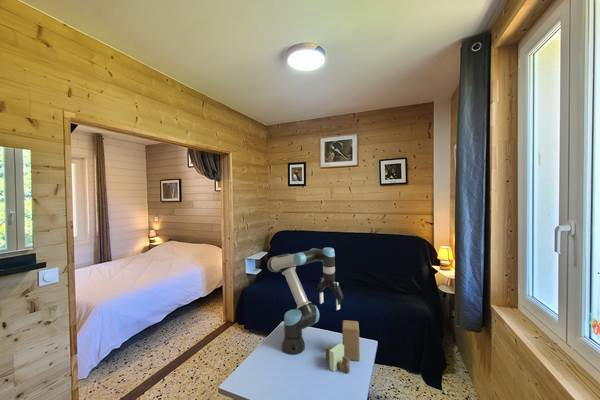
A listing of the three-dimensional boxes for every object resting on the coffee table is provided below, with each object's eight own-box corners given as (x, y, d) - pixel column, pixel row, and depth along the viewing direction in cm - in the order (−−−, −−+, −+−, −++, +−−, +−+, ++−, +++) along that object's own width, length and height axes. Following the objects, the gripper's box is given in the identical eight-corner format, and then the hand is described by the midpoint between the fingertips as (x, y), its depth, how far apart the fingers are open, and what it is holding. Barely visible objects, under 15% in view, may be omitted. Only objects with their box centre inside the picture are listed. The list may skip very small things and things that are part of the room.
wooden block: (359, 361, 149) (359, 328, 149) (342, 359, 151) (342, 327, 151) (359, 351, 159) (358, 320, 159) (343, 350, 161) (342, 319, 161)
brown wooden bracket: (325, 360, 151) (325, 347, 151) (328, 359, 152) (327, 346, 152) (347, 374, 139) (347, 359, 139) (349, 372, 140) (349, 358, 140)
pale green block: (333, 371, 141) (333, 352, 141) (329, 369, 143) (329, 350, 143) (344, 363, 148) (344, 345, 148) (340, 361, 150) (340, 343, 150)
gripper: (310, 269, 163) (311, 302, 163) (341, 278, 145) (342, 314, 145) (318, 267, 168) (319, 298, 168) (348, 275, 150) (349, 310, 150)
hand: (329, 306), depth 157 cm, fingers open, 13 cm apart
